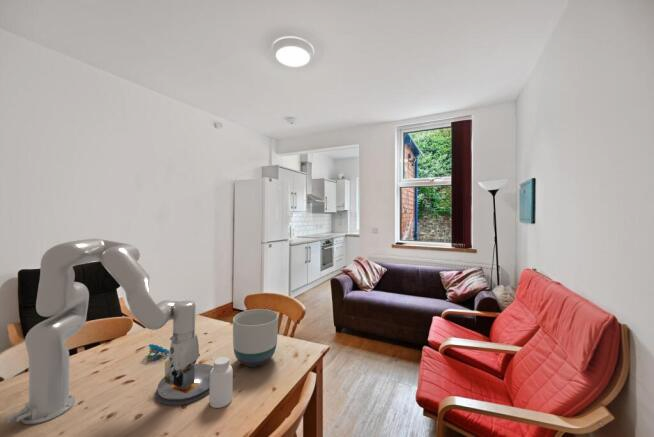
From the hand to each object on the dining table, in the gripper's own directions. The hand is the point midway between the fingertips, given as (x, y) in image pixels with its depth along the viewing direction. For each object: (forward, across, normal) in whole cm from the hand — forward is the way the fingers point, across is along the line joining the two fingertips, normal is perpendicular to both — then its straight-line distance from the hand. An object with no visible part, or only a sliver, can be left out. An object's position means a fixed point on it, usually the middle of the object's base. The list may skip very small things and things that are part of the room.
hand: (183, 381), depth 100 cm
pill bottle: (+5, +3, -16) cm, 17 cm away
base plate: (+5, +4, +2) cm, 7 cm away
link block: (+1, 0, 0) cm, 1 cm away
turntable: (+3, +4, +2) cm, 6 cm away
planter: (+5, +29, -11) cm, 32 cm away
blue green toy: (+5, +13, +34) cm, 37 cm away
